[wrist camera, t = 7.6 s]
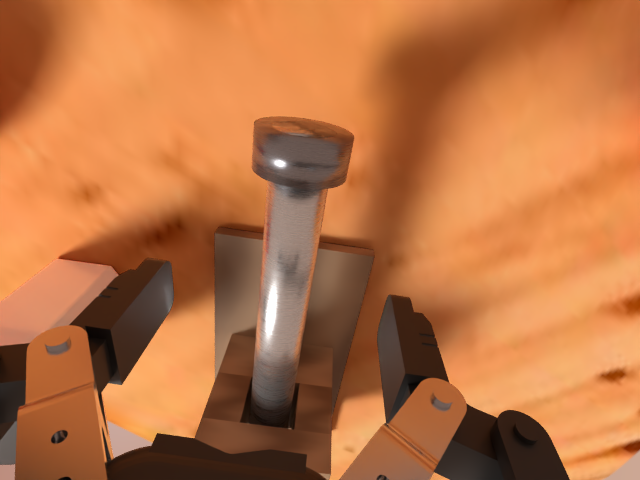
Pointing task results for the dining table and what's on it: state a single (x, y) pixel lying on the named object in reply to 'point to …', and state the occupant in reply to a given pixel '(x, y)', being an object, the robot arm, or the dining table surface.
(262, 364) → the shaft
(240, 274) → the bearing block
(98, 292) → the jar
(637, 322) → the dining table surface
